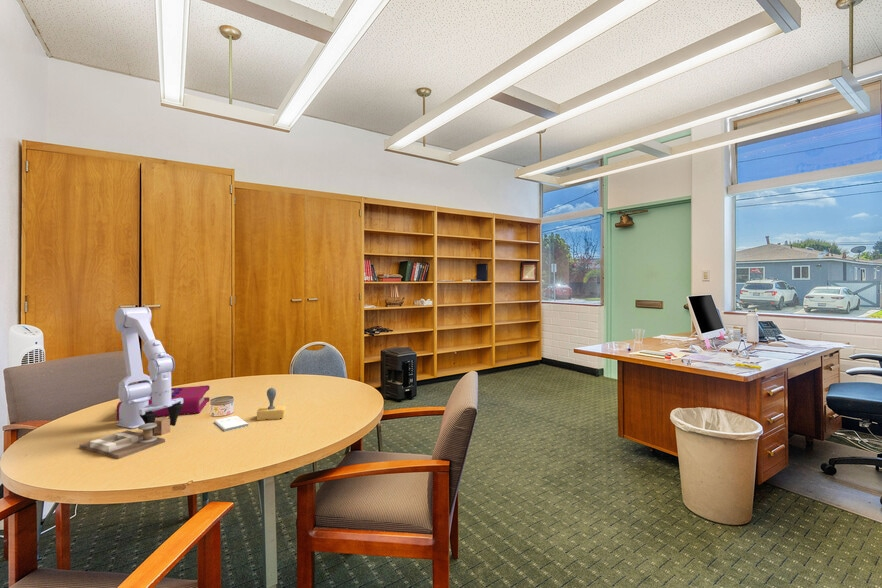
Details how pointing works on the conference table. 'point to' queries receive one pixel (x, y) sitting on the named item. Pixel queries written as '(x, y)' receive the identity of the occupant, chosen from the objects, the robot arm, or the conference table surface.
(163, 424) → the orange and brown block
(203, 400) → the book
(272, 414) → the rubber stamp
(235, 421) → the external hard drive
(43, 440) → the conference table surface
